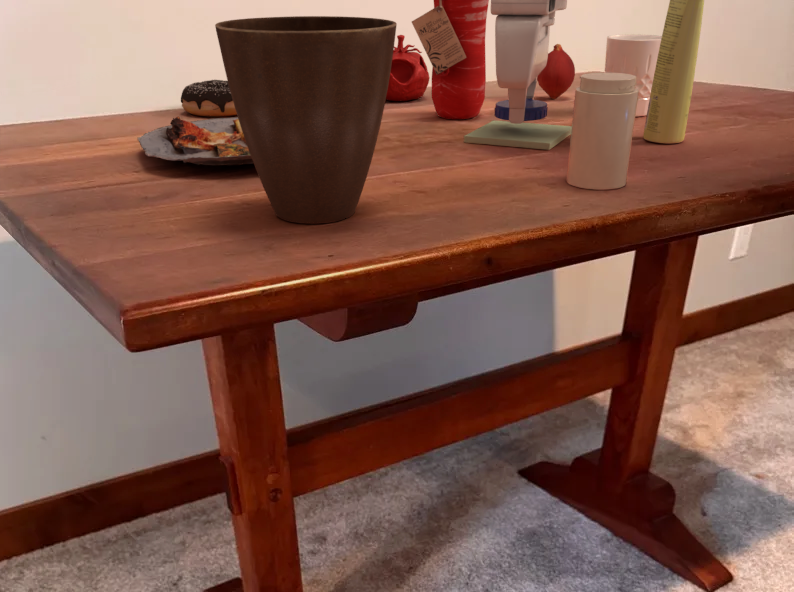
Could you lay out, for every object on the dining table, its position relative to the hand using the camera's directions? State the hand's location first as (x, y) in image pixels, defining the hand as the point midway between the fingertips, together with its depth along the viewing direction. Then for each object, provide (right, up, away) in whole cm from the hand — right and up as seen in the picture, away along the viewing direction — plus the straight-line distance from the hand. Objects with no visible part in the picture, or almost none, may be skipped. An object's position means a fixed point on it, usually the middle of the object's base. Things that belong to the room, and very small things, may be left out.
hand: (521, 116), depth 100 cm
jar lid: (0, +1, -1) cm, 1 cm away
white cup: (+18, +6, +15) cm, 24 cm away
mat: (0, -2, +1) cm, 2 cm away
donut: (-42, +8, +20) cm, 47 cm away
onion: (+9, +12, +26) cm, 30 cm away
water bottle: (-8, +4, +13) cm, 16 cm away
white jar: (+5, -13, -18) cm, 23 cm away
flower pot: (-23, -19, -26) cm, 40 cm away
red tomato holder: (-15, +13, +28) cm, 34 cm away
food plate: (-34, -6, -4) cm, 35 cm away
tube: (+17, -4, -1) cm, 18 cm away
